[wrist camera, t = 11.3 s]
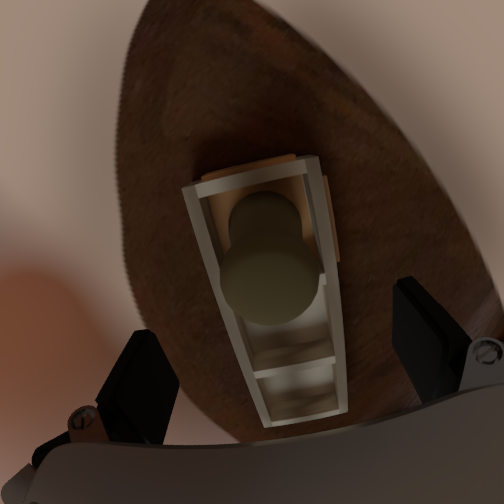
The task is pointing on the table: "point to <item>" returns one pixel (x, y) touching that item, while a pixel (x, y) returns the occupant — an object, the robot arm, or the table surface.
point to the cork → (268, 261)
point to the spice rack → (299, 329)
